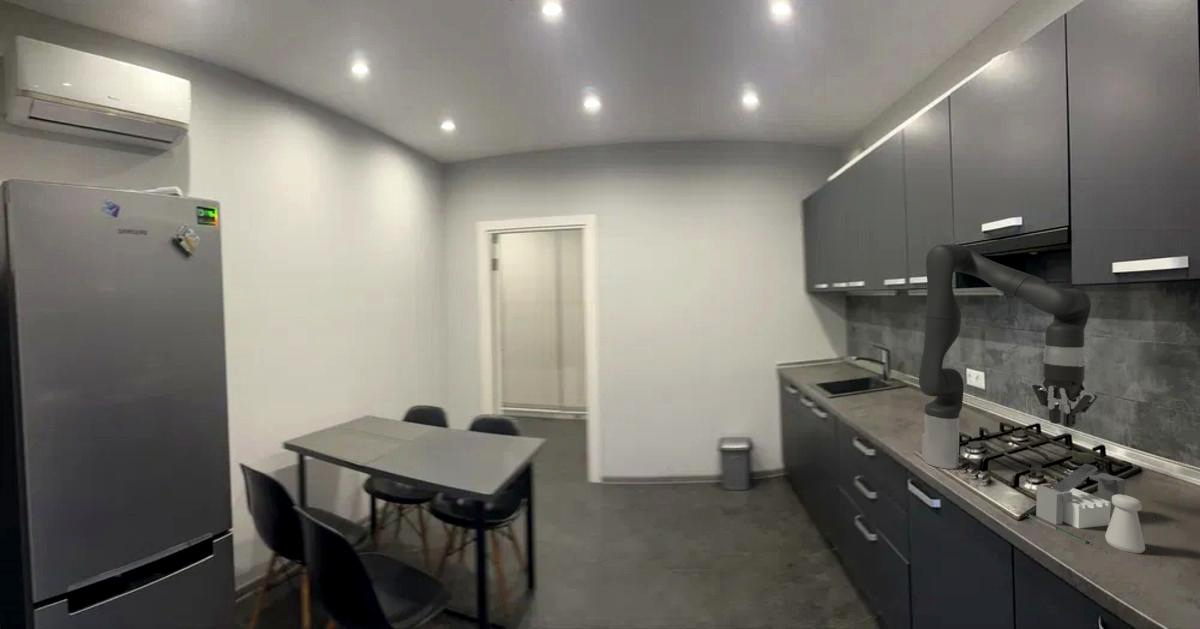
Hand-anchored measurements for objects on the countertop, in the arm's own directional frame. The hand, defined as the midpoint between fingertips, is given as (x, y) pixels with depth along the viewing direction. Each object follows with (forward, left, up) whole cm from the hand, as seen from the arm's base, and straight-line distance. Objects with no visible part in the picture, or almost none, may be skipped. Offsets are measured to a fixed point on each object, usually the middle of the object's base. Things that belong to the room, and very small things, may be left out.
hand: (1062, 424), depth 115 cm
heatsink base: (+7, -4, -23) cm, 24 cm away
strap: (+7, -6, -13) cm, 15 cm away
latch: (+7, +4, -22) cm, 23 cm away
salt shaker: (+19, -9, -23) cm, 31 cm away
